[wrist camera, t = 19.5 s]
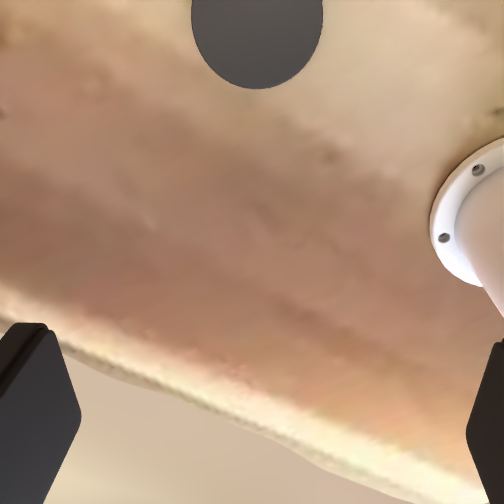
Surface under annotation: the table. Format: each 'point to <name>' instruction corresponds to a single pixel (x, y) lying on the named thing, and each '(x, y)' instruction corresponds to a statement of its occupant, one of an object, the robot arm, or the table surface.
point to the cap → (256, 38)
